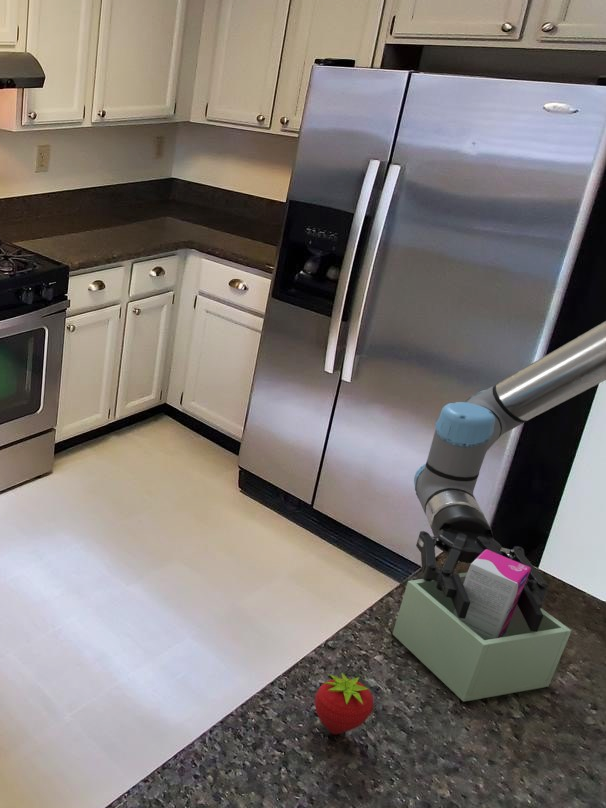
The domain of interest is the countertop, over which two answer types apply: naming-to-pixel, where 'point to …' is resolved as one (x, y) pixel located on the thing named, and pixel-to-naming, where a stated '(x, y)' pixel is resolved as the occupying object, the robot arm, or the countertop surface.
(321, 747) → the countertop surface
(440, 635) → the trash bin
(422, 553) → the robot arm
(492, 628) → the supplement box
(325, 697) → the strawberry
